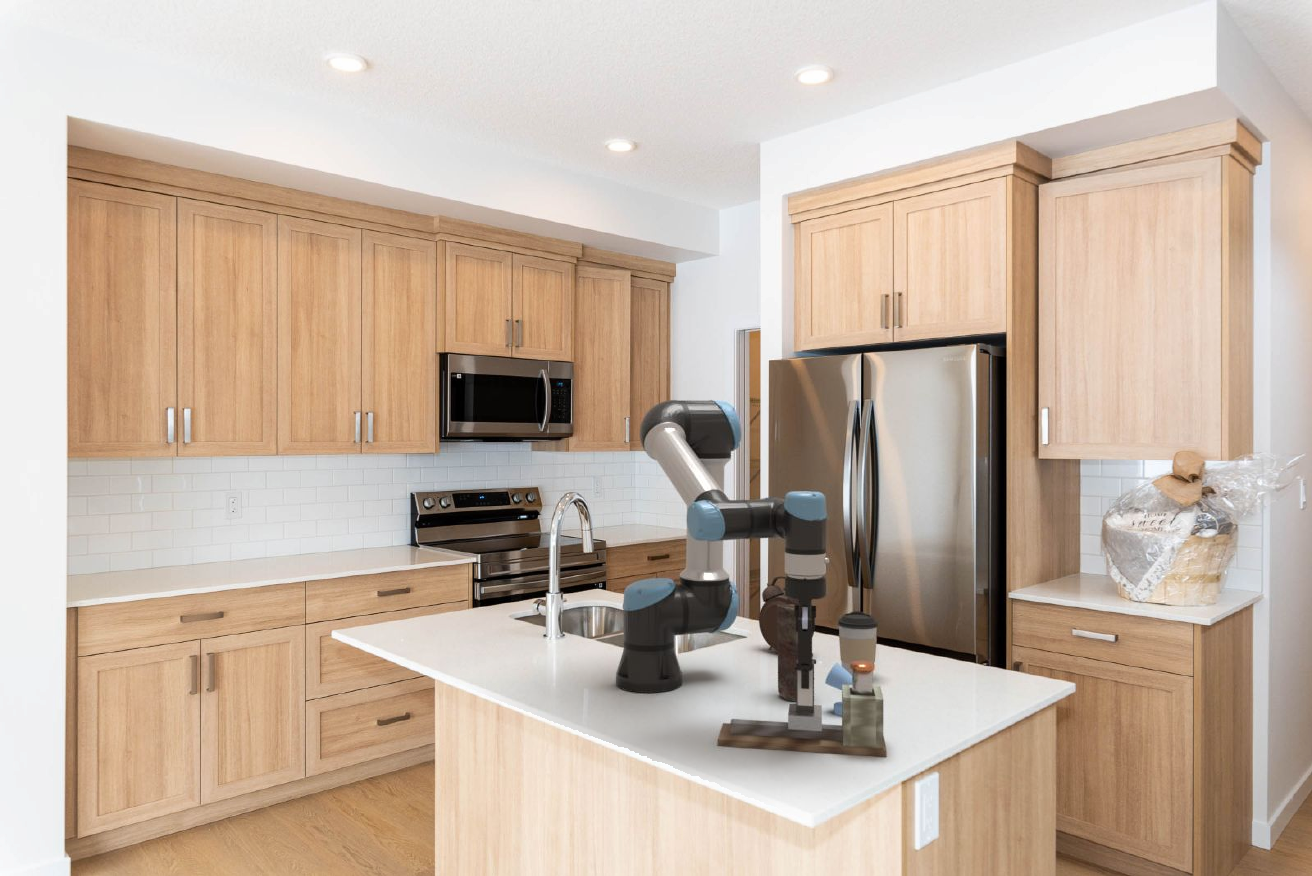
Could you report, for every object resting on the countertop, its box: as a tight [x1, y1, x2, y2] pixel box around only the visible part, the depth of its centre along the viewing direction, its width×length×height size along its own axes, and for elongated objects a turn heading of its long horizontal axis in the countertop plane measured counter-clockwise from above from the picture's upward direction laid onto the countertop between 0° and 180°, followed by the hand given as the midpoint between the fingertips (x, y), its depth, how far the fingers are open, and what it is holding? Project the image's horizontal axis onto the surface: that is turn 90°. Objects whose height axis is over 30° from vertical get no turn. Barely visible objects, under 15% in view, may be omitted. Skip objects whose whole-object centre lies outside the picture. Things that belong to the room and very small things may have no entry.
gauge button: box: [850, 661, 876, 696], centre depth 160 cm, size 4×4×8 cm
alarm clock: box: [758, 575, 815, 652], centre depth 227 cm, size 15×7×20 cm, turn 44°
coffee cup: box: [837, 610, 878, 681], centre depth 204 cm, size 9×9×15 cm
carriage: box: [787, 660, 823, 731], centre depth 162 cm, size 6×7×12 cm
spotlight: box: [824, 662, 852, 717], centre depth 179 cm, size 5×10×7 cm
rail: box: [717, 685, 888, 758], centre depth 162 cm, size 30×9×10 cm, turn 79°
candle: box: [777, 604, 798, 702], centre depth 190 cm, size 8×7×20 cm
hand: (805, 702), depth 162 cm, fingers closed on carriage, 2 cm apart
